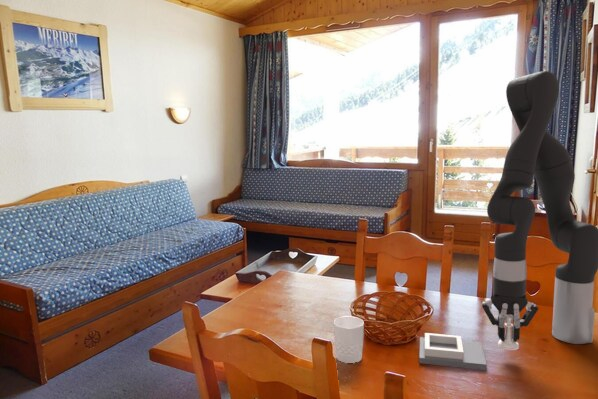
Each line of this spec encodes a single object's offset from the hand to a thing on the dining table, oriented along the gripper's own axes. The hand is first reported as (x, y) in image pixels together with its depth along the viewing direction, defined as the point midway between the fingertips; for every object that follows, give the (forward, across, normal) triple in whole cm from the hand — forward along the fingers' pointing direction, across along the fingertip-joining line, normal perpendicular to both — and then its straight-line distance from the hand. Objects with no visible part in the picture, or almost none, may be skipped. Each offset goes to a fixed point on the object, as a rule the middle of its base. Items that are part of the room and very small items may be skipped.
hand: (508, 339), depth 116 cm
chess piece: (+2, 0, 0) cm, 2 cm away
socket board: (+5, +14, 0) cm, 15 cm away
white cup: (+5, +40, +7) cm, 41 cm away
